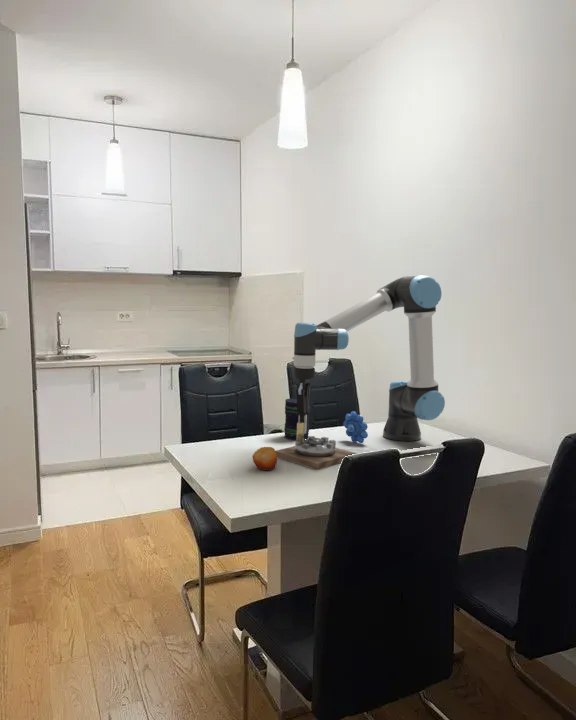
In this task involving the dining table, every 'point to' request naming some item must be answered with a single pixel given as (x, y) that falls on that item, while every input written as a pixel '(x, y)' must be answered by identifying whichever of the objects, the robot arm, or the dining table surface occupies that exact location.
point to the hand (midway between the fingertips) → (302, 432)
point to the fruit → (265, 458)
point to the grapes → (355, 427)
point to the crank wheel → (313, 444)
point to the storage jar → (293, 420)
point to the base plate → (313, 458)
